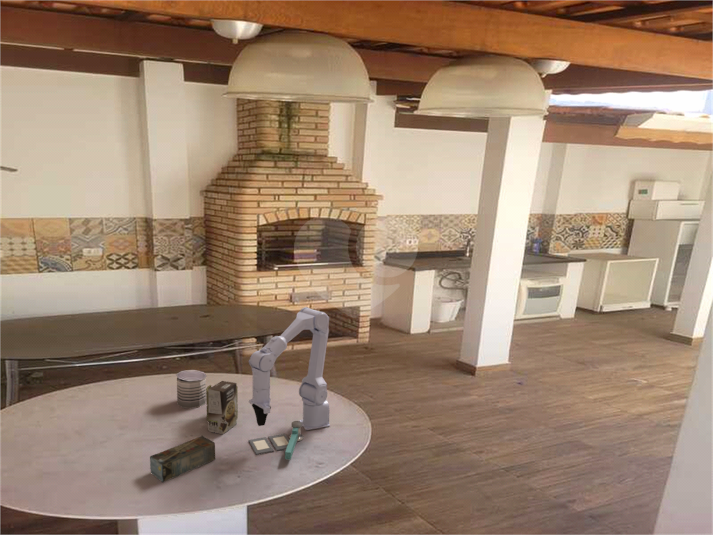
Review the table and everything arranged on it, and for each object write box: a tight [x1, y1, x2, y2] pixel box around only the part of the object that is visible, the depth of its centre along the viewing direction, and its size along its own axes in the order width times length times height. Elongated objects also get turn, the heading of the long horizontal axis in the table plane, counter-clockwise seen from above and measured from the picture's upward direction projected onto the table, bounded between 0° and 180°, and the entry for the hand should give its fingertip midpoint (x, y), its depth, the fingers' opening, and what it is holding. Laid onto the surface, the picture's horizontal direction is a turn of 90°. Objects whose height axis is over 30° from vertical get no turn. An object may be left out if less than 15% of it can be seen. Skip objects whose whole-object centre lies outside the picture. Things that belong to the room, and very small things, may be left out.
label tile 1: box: [248, 436, 275, 456], centre depth 189 cm, size 6×10×1 cm, turn 25°
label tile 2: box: [267, 433, 290, 452], centre depth 192 cm, size 6×10×1 cm, turn 25°
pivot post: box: [288, 427, 305, 443], centre depth 195 cm, size 5×5×4 cm
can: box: [175, 369, 208, 409], centre depth 220 cm, size 11×11×12 cm
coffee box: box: [208, 380, 238, 435], centre depth 200 cm, size 9×6×16 cm
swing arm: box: [284, 420, 303, 461], centre depth 187 cm, size 19×4×4 cm, turn 177°
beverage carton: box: [149, 435, 216, 483], centre depth 175 cm, size 8×19×7 cm, turn 138°
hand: (261, 424), depth 188 cm, fingers closed
